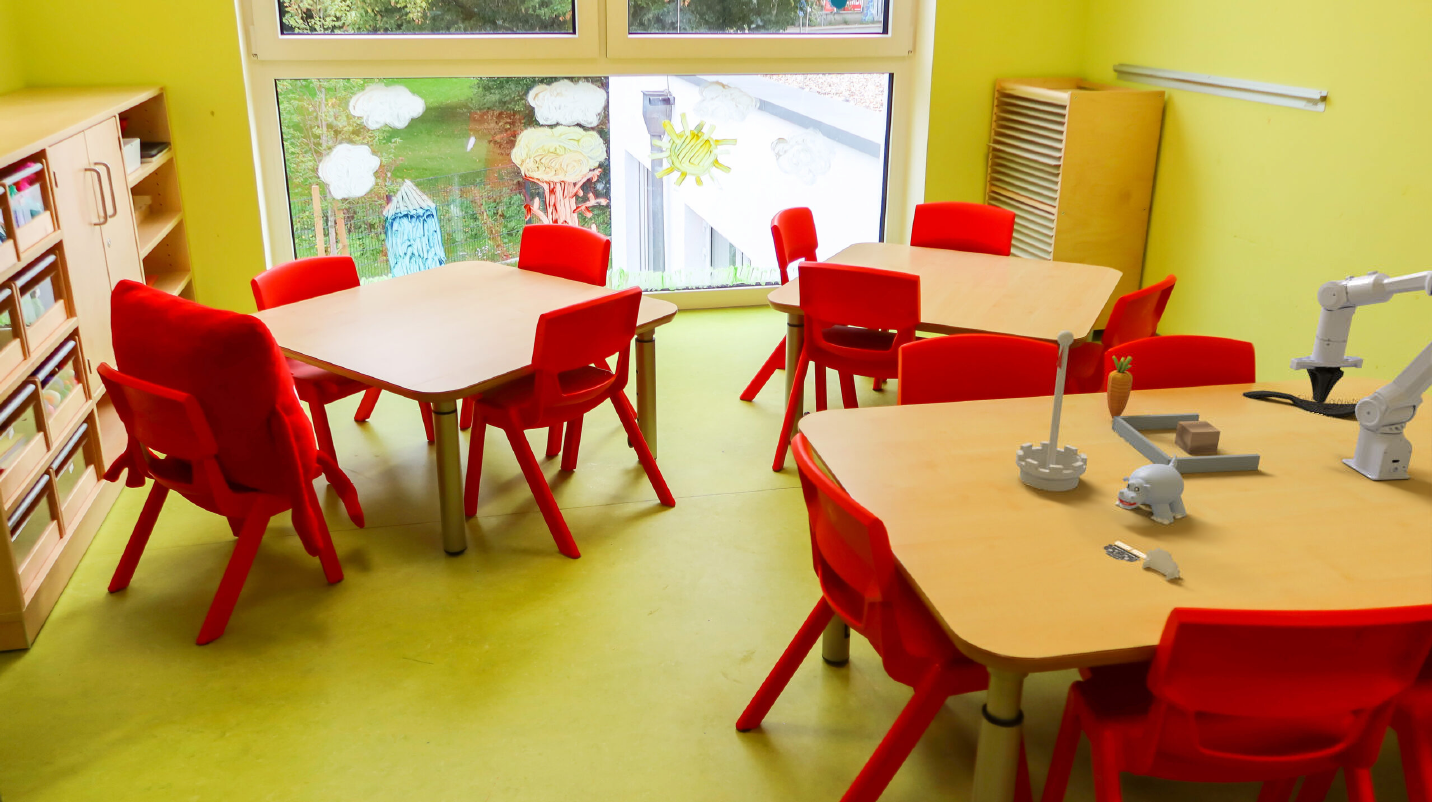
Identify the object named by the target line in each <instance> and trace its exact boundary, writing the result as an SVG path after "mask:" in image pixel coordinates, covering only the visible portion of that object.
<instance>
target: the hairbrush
mask: <svg viewBox="0 0 1432 802" xmlns="http://www.w3.org/2000/svg"><path fill="white" fill-rule="evenodd" d="M1242 396H1243V397H1247V398H1248V399H1252V398H1254V399H1255V398H1258V399H1259V398H1275V399H1281V400H1287V401H1288V400H1289V401H1290V402H1291V403H1293V404H1294V405H1296V407H1298V408H1299V409H1301V408H1302V410H1303V409H1304V411H1305V410H1306V412H1308V411H1309V413H1312V412H1314V413H1313V414H1315V413H1319V414H1323V415H1322V416H1324V415H1327V416H1326V417H1329V416H1333V417H1332V418H1342V417H1346V416H1351V415H1356V414H1355V408H1356V405H1357V403H1358V402H1359V401H1360V400H1361V399H1358V401H1357V399H1356V400H1355V399H1354V398H1353V399H1352V401H1348V400H1347V399H1345V401H1344V399H1342V400H1340V399H1338V400H1337V401H1336V399H1333V398H1331V399H1330V400H1328V399H1326V401H1325V403H1318V402H1316V401H1314V400H1313V395H1312V396H1311V400H1310V398H1309V397H1310V396H1308V397H1306V396H1307V395H1304V396H1305V397H1303V394H1302V395H1301V394H1299V395H1298V396H1296V395H1293V394H1291V393H1285V392H1280V391H1272V390H1265V389H1264V390H1251V391H1244V392H1242ZM1301 396H1302V397H1303V398H1301ZM1331 400H1332V401H1331ZM1340 401H1341V402H1340ZM1343 401H1344V402H1343ZM1332 402H1333V403H1332ZM1354 402H1355V403H1354ZM1319 414H1318V415H1319Z"/></svg>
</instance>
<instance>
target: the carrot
mask: <svg viewBox="0 0 1432 802" xmlns="http://www.w3.org/2000/svg"><path fill="white" fill-rule="evenodd" d="M1111 358H1112V360H1113V361H1114V364H1115V367H1116V370H1113V371H1111V372H1110V373H1109V375H1108V377H1107V378H1108V379H1107V389H1106V390H1107V391H1106V396H1107V397H1106V399H1107V407H1108V410H1109V411H1108V412H1109V415H1110V416H1111V419H1112V420H1113V417H1114V416H1122V414H1123V413H1124V411H1125V409H1126V407H1127V403H1128V401H1129V398H1130V395H1131V390H1132V385H1133V380H1134V379H1133V375H1132V373H1131V372H1129V371H1127V370H1129V369H1131V367H1132V365H1130V363H1131V362H1132V360H1133V357H1132V356H1127V358H1126V357H1124V356H1123V357H1121V359H1120V361H1119V360H1118V359H1117V357H1116V356H1115V355H1113V356H1112V357H1111Z"/></svg>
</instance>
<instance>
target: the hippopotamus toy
mask: <svg viewBox="0 0 1432 802" xmlns="http://www.w3.org/2000/svg"><path fill="white" fill-rule="evenodd" d="M1171 455H1172V456H1173V457H1174V458H1173V460H1172V461H1171V462H1170V464H1169V465H1164V464H1154V463H1152V464H1151V463H1150V464H1146V465H1143V466H1141V467H1138V468H1137V469H1135V470H1134V471H1133V472H1132V473H1131V474H1130V476H1129V477H1128V476H1124V477H1123V479H1122V480H1123V482H1124V483H1125V482H1127V481H1128V482H1127V483H1126V487H1125V488H1122V489H1120V490H1119V491H1118V493H1117V501H1116V502H1115V505H1116V506H1118V507H1120V508H1121V509H1126V510H1132V509H1135V508H1137V507H1139V506H1140V505H1144V504H1146V505H1150V507H1151V511H1152V514H1153V515H1152V516H1151V518H1150V519H1151V520H1153V521H1155V522H1156V523H1159V524H1162V525H1169V524H1172V523H1174V521H1175V520H1174V518H1175V519H1178V520H1179V519H1181V518H1184V517H1186V516H1187V511H1186V508H1185V504H1184V501H1183V499H1182V495H1183V493H1184V489H1185V483H1184V479H1183V477H1182V475H1181V473H1179V472H1178V471H1177V470H1176V469H1175V468H1176V466H1177V457H1178V456H1177V454H1174V453H1171Z"/></svg>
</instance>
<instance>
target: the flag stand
mask: <svg viewBox="0 0 1432 802" xmlns="http://www.w3.org/2000/svg"><path fill="white" fill-rule="evenodd" d="M1074 339H1075V337H1074V334H1073V333H1072V332H1071V331H1070V330H1067V329H1066V330H1061V331H1060V332H1059V333H1058V334H1057V338H1056V340H1057V342H1058V343H1057V344H1059V354H1058V358H1057V361H1056V362H1055V365H1056V367H1057V371H1056V380H1055V388H1054V396H1053V397H1054V398H1053V404H1052V414H1051V422H1050V432H1049V438H1048V439H1049V440H1048V441H1047V440H1046V441H1045V440H1041V441H1040V446H1033V445H1034V444H1033V443H1031V442H1026V443H1023V444H1021V445H1020V448H1019V449H1016V452H1015V453H1016V454H1015V465H1016V466H1017V467H1018V468H1019V470H1020V471H1019V479H1020V478H1021V479H1022V480H1023V481H1022V480H1021V479H1020V480H1021V481H1022V483H1024V482H1025V483H1026V484H1025V483H1024V484H1025V485H1027V484H1029V485H1031V486H1033V487H1032V488H1034V487H1035V489H1037V488H1039V489H1038V490H1041V489H1044V490H1043V491H1047V490H1048V492H1049V491H1050V492H1064V491H1065V492H1066V491H1069V490H1073V489H1076V487H1077V486H1078V485H1079V481H1080V476H1082V475H1083V474H1084V473H1086V471H1087V463H1088V455H1087V454H1086V453H1082V452H1081V453H1079V454H1078V451H1079V450H1078V447H1075V446H1073V445H1069V444H1066V445H1064V448H1060V447H1058V442H1059V440H1058V439H1059V433H1060V424H1061V414H1062V407H1063V399H1064V390H1065V381H1066V374H1067V372H1066V371H1067V363H1068V356H1069V355H1068V354H1069V347H1070V346H1071V344H1073V342H1074ZM1029 485H1028V486H1029ZM1031 486H1030V487H1031Z"/></svg>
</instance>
